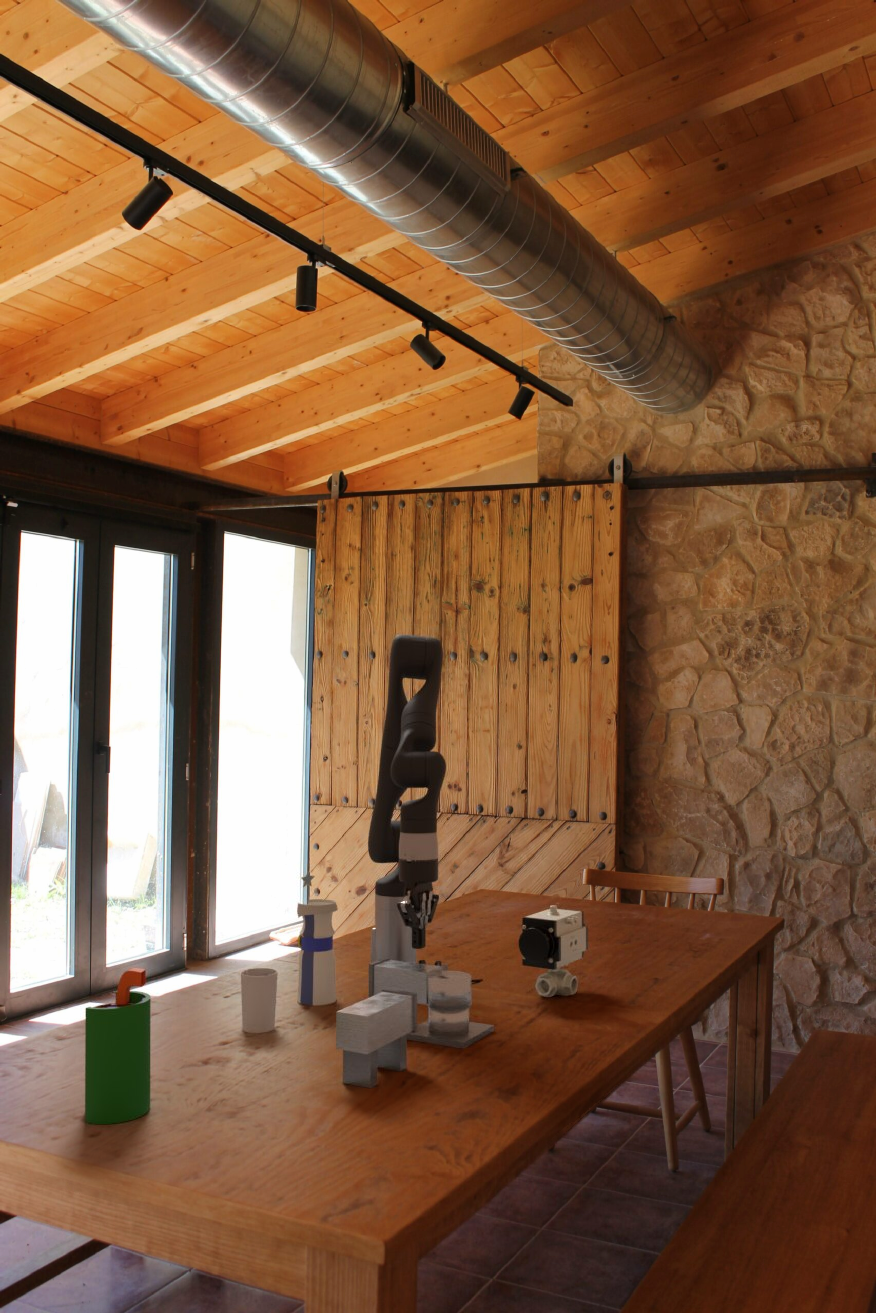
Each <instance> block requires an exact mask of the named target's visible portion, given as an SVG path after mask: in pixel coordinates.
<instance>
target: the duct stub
mask: <svg viewBox="0 0 876 1313" xmlns="http://www.w3.org/2000/svg"><path fill="white" fill-rule="evenodd" d="M493 1032H495V1025H494V1024H488V1023H481V1022H474V1021H470V1007H469V1008H466V1009H462V1010H437V1009H432V1008H430V1007H428V1019H427V1020H425V1021H423V1022H422V1023H419V1024H417V1032H416V1033H411V1032H410V1033H408V1034H407V1040H409V1041H414V1042H422V1043H426V1044H431V1045H437V1046H445V1047H452V1048H456V1049H466V1048H467V1047H468V1048H469V1047H470V1046H471V1045H472V1044H474V1043H476V1042H478V1041H479V1040H481V1039H483V1038H484V1037H486V1036H487V1035H489V1034H491V1033H493Z"/></svg>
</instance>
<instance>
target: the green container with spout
mask: <svg viewBox="0 0 876 1313" xmlns="http://www.w3.org/2000/svg"><path fill="white" fill-rule="evenodd" d="M146 974H147V972H146V969H145V968H140V967H132V968H128V970H126V971H125V972H123V973H122V975H121V976H120V979H119V982H118V985H117V990H116V991H115V1002H112V1003H111V1002H109V1003H104V1004H99V1005H95V1006H88V1007H85V1029H84V1030H85V1031H84V1032H85V1033H84V1034H85V1040H84V1041H85V1044H84V1046H85V1052H84V1056H85V1057H84V1058H85V1059H84V1062H85V1063H84V1066H85V1068H84V1070H85V1071H84V1077H85V1078H84V1081H85V1082H84V1083H85V1084H84V1123H86V1124H93V1125H109V1124H110V1125H111V1124H112V1125H113V1124H121V1123H125V1122H129V1121H132V1120H135V1119H137V1118H140V1117H143V1116H144V1115H146V1114H147V1113H148V1112H149V1111H150V1110H151V995H150V994H149V993H147V992H143V991H138V990H137V991H136V990H131V986H132V987H137V988H142V987H143V986H145V985H146V980H147V977H146V976H147V975H146Z"/></svg>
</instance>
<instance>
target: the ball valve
mask: <svg viewBox="0 0 876 1313" xmlns="http://www.w3.org/2000/svg"><path fill="white" fill-rule="evenodd" d="M584 914H585V913H584V910H578V909H577V910H576V909H566V908H561V907H558V906H557V905H555V904H554V905H553V904H552V905H550V907H549V909H548V908H547V909H544V910H543V911H539V912H536V913H532V914H529V915H526V916H523V917H522V918H521V919H522V920H521V921H522V923H521V925H522V926H521V928H522V929H521V931H522V933H521V934H520V936H519V939H518V948H519V952H520V954H521V955H522V956H521V958H522V962H521V963H522V966H524V967H532V968H538V969H539V968H540V969H545V970H548V971H546V972H544V973H542V974H540V975H539V976H538V977H537V978H536V982H535V984H534V987H535V990H536V991H537V994H538V995H539V996H543V997H544V998H551V997H553V996H555V995H557V996H563V997H568V996H572V995H574V994H576V992H577V991H578V986H579V982H578V977H577V976H576V975H573V974H571V973H570V972H569V970H568V969H565V968H562V967H568V966H569V964H571V963H573V962H576V961H578V960H581V959H582V958H584V957H585V955H584V953H585V951H588V950H589V944H588V943H589V927H588V925H586V923H585V921H584V918H585V917H584Z"/></svg>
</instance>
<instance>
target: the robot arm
mask: <svg viewBox="0 0 876 1313" xmlns="http://www.w3.org/2000/svg"><path fill="white" fill-rule="evenodd" d="M443 659H444V651H443V645H442V642H441V640H440V639H439V638H436V637H431V636H421V635H412V634H396V636H394V638H393V640H392V643H391V648H390V654H389V668H388V684H387V685H388V686H387V698H386V699H387V700H386V702H387V703H386V710H385V717H384V723H383V724H384V727H383V731H382V737H381V738H382V739H381V744H380V747H381V748H380V753H379V765H378V777H377V778H378V779H377V787H376V793H375V799H374V805H373V809H372V814H371V820H370V824H369V830H368V838H367V839H368V840H367V849H368V850H367V852H368V855H369V858H370V860H371V861H372V862H374V864H375V863H377V864H394V863H398V864H397V866H396V868H394V870H393V871H391V872H390V873H389V874H387V875H385V876H382V877H380V878H379V879H377V880H376V882H375V885H374V927H373V928H371V930H370V963H373V962H375V961H378V960H381V959H383V958H386V957H388V958H390V960H395V961H403V962H411V963H418V961H417V950H422V949H424V948H425V947H427V946H426V945H427V944H426V937H427V936H426V935H427V934H426V928H428V924H431V923H432V922H433V919H434V915H435V913H436V909H437V906H438V903H439V900H440V895H439V894H435V893H434V891H433V890H434V887H433V883H435V882H437V881H438V880H439V840H438V839H439V838H438V804H439V799H440V794H441V791H442V786H443V783H444V780H445V777H446V773H447V763H446V758H444V756H443V755H442V753H440V752H438V751H434V750H433V749H434V748H435V746H436V744H437V709H438V708H437V707H438V702H439V696H440V689H441V680H442V672H443V664H444V662H443V661H444V660H443ZM404 679H411V680H421V681H425V682H424V683H423V685H422V687H421V688H420V689H419V690H418V691H417V692H416V693H415V694H414V695H413V696H412V697H411V698H410V699H409V700H408V698H407V695H406V693H405V689H404V684H403V683H404ZM408 789H427V791H426V793H425V795H424V796H422V797H420V798H418V799H417V798H416V799H413V800H408V801H404V802H402V803H401V805H400V811H399V812H400V813H399V816H400V819H399V820H392V819H393V815H394V812H395V809H396V806H397V804H398V803H399V801H400V799H401V798H402V797H403V795H404V794H405V792H406V791H407V790H408Z"/></svg>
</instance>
